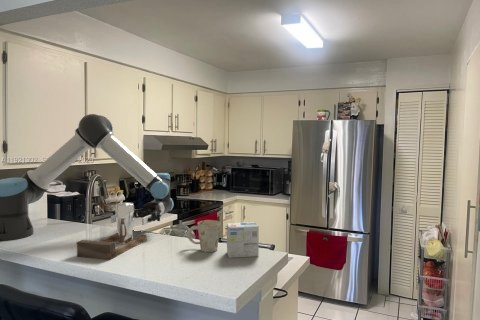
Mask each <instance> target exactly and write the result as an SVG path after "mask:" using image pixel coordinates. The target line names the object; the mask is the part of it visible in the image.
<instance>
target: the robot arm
mask: <svg viewBox="0 0 480 320" xmlns="http://www.w3.org/2000/svg"><path fill="white" fill-rule="evenodd" d="M113 128H114V127H113V124H112V122H111V121H110V119H108V118H107V117H106V116H105V115H98V114H95V113H89V114H87V115H84V116H83V117H82V118H81V119H80V120H79V123H78V127H77V128H76V129H75V130H74V135H73V136H72V137H71V138H70V139H68V140H67V142H65V143H64V144H63V145H62V146H60V148H58V149H57V150H56V151H55V152H54V153H53V154H52V155H50V156H49V157H48V158H47V159H46V160H45V161H44V162H42V163H41V164H39V166H38V167H36V168H35V169H33V170H32V169H31V170H28V171H26V172H25V173H24V174H23V175H22V176H21V177H8V178H7V177H6V178H1V179H0V241H11V240H17V239H18V240H19V239H24V238H26V237H29V236H32V235H33V234H34V226H33V224H32V221H31V218H30V215H29V205H30V204H34V203H36V202H38V201H39V200H40V199H41V198H42V197H43V196H44V195H45V193H46V192H47V191H48V190H50V187H51V185H50V184H51V183H52V182H53V181H54V180H55V179H57V177H59V176H60V175H61V174H63V172H65V171H66V170H67V169H68V168H69V167H70V166H72V165H73V164H74V163H75V162H76V161H77V160H78V159H80V158H81V157H82V156H83V155H84V154H85V153H86V152H87V151H88V150H91V149H101V150H102V152H104V153H105V154H107V155H108V157H110V158H111V159H112V160H113V161H115V163H116V164H117V165H119V166H120V167H121V168H123V169H124V171H126V172H127V173H128V174H129V175H131V176H132V178H134V179H135V180H136V181H137V182H139V184H141V185H142V186H143V187H144V188H145V189H146V190H147V191H149V192H150V194H151V196H152V197H153V198H154V199H153V200H151V201H150V202H146V203H144V204H143V205H142V206H141V207H140V208H138V209H136V208H134V219H138V218H139V219H140V218H141V225H142V226H146V225H147V224H149V223H151V222H156V221H157V222H160V221H161V217H162V216H163V215H165V214H168V213H169V212H171V211H172V210H173V209H174V207H175V206H174V205H175V204H174V200H173V198H171V175H170V174H169V172H155V171H154V170H153V169H151V168H150V166H148V165H147V164H145V162H144V161H143V160H141V159H140V158H139V157H138V155H136V154H135V153H134V152H133V151H131V150H130V149H129V148H128V147H126V145H125V144H123V142H122V141H120V140H119V139H118V138H116V136H114V130H113ZM113 223H116V211H115V213H114V214H113V215H111V216H110V224H113Z"/></svg>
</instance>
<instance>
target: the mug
mask: <svg viewBox="0 0 480 320" xmlns="http://www.w3.org/2000/svg"><path fill="white" fill-rule="evenodd" d="M220 229H221V222H220V221H219V220H216V219H215V220H214V219H213V220H212V219H205V220H199V221H198V222H197V225H193V226H191V227H190V228H189V229H188V230H187V239H188V241H190V242H191V243H192V244H194V245H199V247H200V251H201V252H204V253H213V252H216V251H218V245H219V240H220V239H219V237H220ZM194 230H197V232H198V239H199V241H195V240H194V239H193V237H192V232H193V231H194Z"/></svg>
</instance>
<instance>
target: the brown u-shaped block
mask: <svg viewBox="0 0 480 320" xmlns="http://www.w3.org/2000/svg"><path fill="white" fill-rule="evenodd" d="M117 240H118V232H116V233H114V234H111V235H108V236H107V237H105V238H102V239H100V240H90V239H81V240H77V241H76V256H77V258H78V257H80V258H90V259H99V260H100V259H101V260H110V261H111V260H113V259H115V258H116V257H118V256H120V255H122V254H123V253H125V252H127V251H128V250H131V249H132V248H134V247H136V246H138V245H140V244H142V243H144V242H146V241H147V234H142V235H139V236H137V237H135V238H133V240H132V241H130V242H128V243H126V244H121V245H120V246H118V247H116V245H117V244H116V242H117ZM141 242H142V243H141ZM139 243H140V244H139ZM137 244H138V245H137Z"/></svg>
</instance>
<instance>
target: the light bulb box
mask: <svg viewBox="0 0 480 320" xmlns="http://www.w3.org/2000/svg"><path fill="white" fill-rule="evenodd" d="M259 227H260V226H259V225H258V224H257V223H256V222H255V221H253V222H251V221H250V222H248V221H247V222H232V223H231V222H230V223H229V222H226V253H227V256H228V258H229V259H230V258H231V259H232V258H247V257H248V258H249V257H250V258H251V257H259V254H260V253H259V250H260V249H259V248H260V247H259V246H260V244H259V242H260V241H259V237H260V236H259V232H260V231H259Z"/></svg>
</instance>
